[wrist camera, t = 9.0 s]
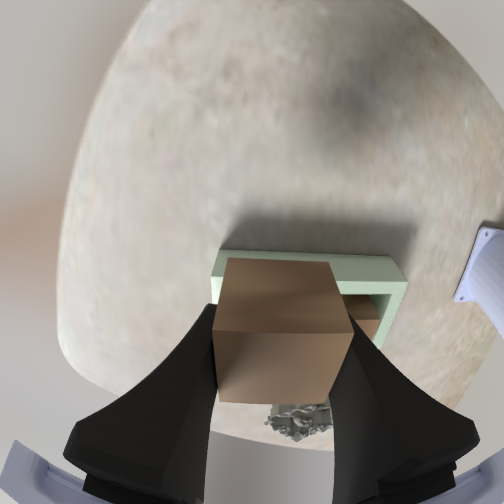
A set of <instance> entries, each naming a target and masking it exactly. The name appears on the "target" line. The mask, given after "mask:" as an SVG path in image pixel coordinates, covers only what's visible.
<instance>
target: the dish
mask: <svg viewBox="0 0 504 504" xmlns="http://www.w3.org/2000/svg"><path fill="white" fill-rule="evenodd" d="M228 257H231V258H252V259H274V260H296V261H319V262H329V264H330V267H331V270H332V272H333V275H334V277H335V280H336V283H337V285H338V288H339V291H340V293H341V294H369V296H370V298H371V300H372V302H373V304H374V306H375V309H376V311H377V313H378V315H379V317H380V322H379V324H378V327H377V329H376V331H375V334H374V336H373V338H372V340H371V341H372V342H373V343H374V344H375V346H376V347H377V348H378V349H379V350H380V348H381V346H382V344H383V342H384V340H385V338H386V335H387V333H388V331H389V329H390V327H391V324H392V322H393V320H394V317H395V315H396V312H397V310H398V308H399V305H400V303H401V300H402V297H403V295H404V292H405V289H406V287H407V284H408V281H407V279H406V278H405V276H404V275H403V273H402V272H401V271H400V269H399V268H398V266H397V265H396V264H395V262H394V261H393V260H392V258H391V257H390V256H371V255H348V254H324V253H300V252H276V251H251V250H226V249H219V251H218V255H217V258H216V261H215V264H214V268H213V271H212V274H211V286H212V299H213V304H218V300H219V295H220V291H221V286H222V281H223V277H224V272H225V268H226V263H227V259H228Z"/></svg>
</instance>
